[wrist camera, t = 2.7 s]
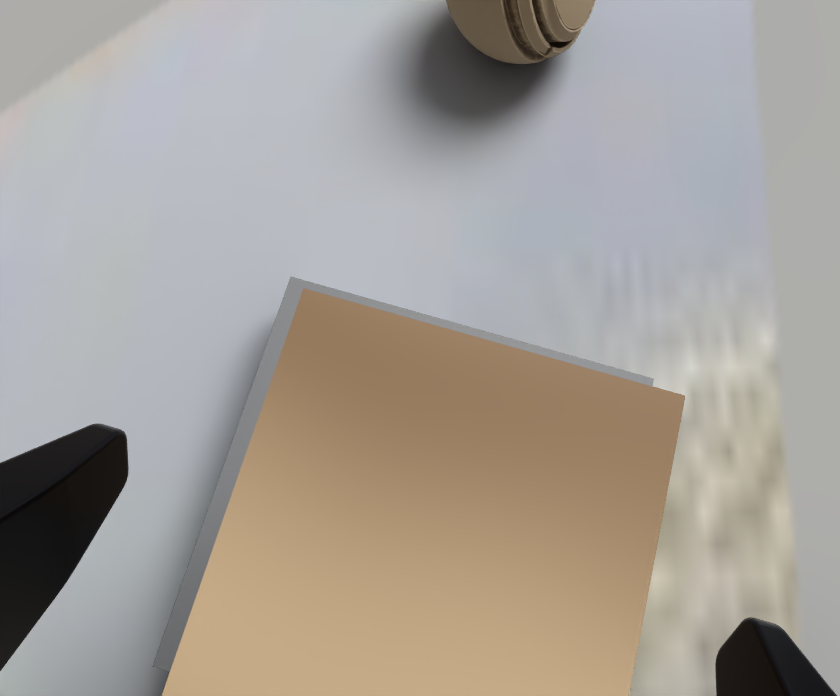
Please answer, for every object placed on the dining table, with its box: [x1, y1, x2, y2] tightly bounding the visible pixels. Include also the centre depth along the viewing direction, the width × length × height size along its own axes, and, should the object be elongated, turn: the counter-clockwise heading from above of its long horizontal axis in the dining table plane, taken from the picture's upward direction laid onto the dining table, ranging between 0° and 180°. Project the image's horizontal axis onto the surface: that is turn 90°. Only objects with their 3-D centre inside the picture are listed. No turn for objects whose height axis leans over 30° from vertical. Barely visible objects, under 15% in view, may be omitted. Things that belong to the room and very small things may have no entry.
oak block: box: [162, 288, 685, 696], centre depth 11 cm, size 4×4×10 cm
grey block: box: [153, 277, 654, 672], centre depth 17 cm, size 10×10×2 cm
